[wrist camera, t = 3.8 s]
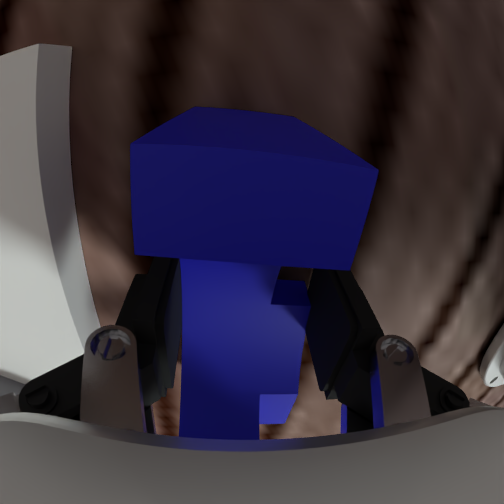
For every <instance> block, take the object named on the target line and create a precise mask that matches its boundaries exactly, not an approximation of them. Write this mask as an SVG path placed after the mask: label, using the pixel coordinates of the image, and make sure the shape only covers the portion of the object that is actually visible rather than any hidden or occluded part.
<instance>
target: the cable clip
mask: <svg viewBox="0 0 504 504" xmlns="http://www.w3.org/2000/svg"><path fill="white" fill-rule="evenodd" d="M378 172H379V170H378V169H376V168H375V167H373V166H372V165H371V164H369V163H368V162H366V161H365V160H363V159H362V158H360V157H359V156H357V155H356V154H354V153H353V152H351V151H350V150H348V149H347V148H345V147H344V146H342V145H340V144H339V143H337V142H336V141H334V140H332V139H331V138H329V137H328V136H326V135H324V134H323V133H321V132H319V131H318V130H316V129H314V128H313V127H311V126H309V125H307V124H306V123H304V122H302V121H301V120H299V119H297V118H295V117H292V116H286V115H279V114H271V113H263V112H255V111H246V110H236V109H224V108H210V107H193V108H191V109H189V110H188V111H186V112H184V113H182V114H180V115H178V116H176V117H175V118H173V119H171V120H169V121H167V122H166V123H164V124H162V125H160V126H159V127H157V128H155V129H154V130H152V131H150V132H149V133H147V134H145V135H144V136H142V137H140V138H139V139H137V140H135V141H134V142H132V143H131V144H130V179H131V208H132V226H133V240H134V252H135V255H145V256H157V257H169V258H180V268H181V283H182V373H181V402H180V426H179V437H187V438H200V439H221V440H259V424H282V423H285V421H286V419H287V417H288V415H289V413H290V410H291V408H292V406H293V404H294V402H295V399H296V397H297V395H298V385H299V373H300V364H301V356H302V350H303V344H304V338H305V333H306V332H305V329H306V324H307V320H308V316H309V312H310V308H311V304H310V301H309V298H308V295H307V287H306V284H305V281H295V280H279V279H277V277H278V274H279V271H280V268H281V266H288V267H303V268H317V269H332V270H348V271H350V268H351V265H352V262H353V259H354V256H355V253H356V250H357V246H358V243H359V240H360V237H361V233H362V230H363V227H364V223H365V220H366V217H367V213H368V210H369V206H370V202H371V199H372V195H373V191H374V188H375V184H376V180H377V176H378Z"/></svg>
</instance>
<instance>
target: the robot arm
mask: <svg viewBox="0 0 504 504" xmlns="http://www.w3.org/2000/svg"><path fill="white" fill-rule="evenodd" d="M307 295H308V298H309V301H310V304H311V308H310V312H309V316H308V320H307V324H306V329H305V332H306V336H307V340H308V344H309V348H310V352H311V356H312V361H313V365H314V369H315V373H316V377H317V381H318V386H319V389H320V391H324V392H325V396H326V400H327V399H338V401H339V402H341V403H342V405H341V434H336V435H328V436H318V437H307V438H293V439H273V440H221V439H200V438H187V437H175V436H166V435H158V434H156V428H155V422H154V414H153V407H152V404H153V403H154V402H156V401H158V400H159V399H160V398H161V397H166V392H167V388H173V385H174V378H175V370H176V363H177V356H178V349H179V343H180V336H181V330H182V283H181V268H180V258H169V257H157V256H154V259H153V261H152V264H151V266H150V269H149V272H148V274H136V275H135V277H134V279H133V281H132V284H131V286H130V289H129V291H128V293H127V296H126V298H125V301H124V303H123V306H122V309H121V311H120V314H119V316H118V319H117V322H116V324H115V325H108V326H103V327H100V328H98V329H96V330H95V331H93V332H92V333H91V334H90V335H89V337H88V338H87V340H86V343H85V349H84V354H83V355H81V356H79V357H77V358H75V359H73V360H71V361H69V362H67V363H65V364H63V365H61V366H59V367H57V368H55V369H53V370H51V371H49V372H47V373H44V374H42V375H40V376H38V377H36V378H34V379H32V380H31V381H29V382H28V383H26V384H25V386H24V387H23V388H22V389H21V392H20V394H18V395H15V394H14V392H12V393H9V394H5V395H2V396H0V504H504V408H501V407H493V406H490V405H488V404H485V403H482V402H480V401H477V400H475V399H472V398H470V399H469V400H468V398H467V396H466V394H465V393H464V392H463V391H462V390H461V389H460V388H458V387H457V386H455V385H453V384H452V383H450V382H448V381H446V380H444V379H443V378H441V377H439V376H437V375H435V374H434V373H432V372H430V371H428V370H427V369H425V368H423V367H421V365H420V361H419V357H418V353H417V351H416V349H415V347H414V346H413V345H412V344H411V343H410V342H409V341H408V340H406V339H404V338H402V337H400V336H397V335H384V333H383V331H382V329H381V327H380V325H379V323H378V321H377V319H376V317H375V315H374V313H373V311H372V309H371V307H370V305H369V303H368V301H367V299H366V297H365V295H364V293H363V291H362V290H361V288H360V287H359V285H358V284H357V282H356V280H355V278H354V276H353V274H352V272H351V270H350V271H348V270H332V269H317V268H314V269H313V273H312V277H311V280H310V284H309V288H308V291H307ZM480 375H481V378H482V380H483V381H484V383H485V385H486V386H490V387H495V386H499V385H502V384H504V324H503V325H502V327H501V328H500V330H499V331H498V333H497V334H496V336H495V337H494V339H493V340H492V342H491V344H490V345H489V347H488V349H487V351H486V353H485V355H484V357H483V360H482V363H481V366H480Z"/></svg>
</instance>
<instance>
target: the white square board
mask: <svg viewBox="0 0 504 504" xmlns="http://www.w3.org/2000/svg"><path fill="white" fill-rule="evenodd" d="M71 55H72V46H63V45H52V44H40V43H39V44H35V45H32V46H29V47H25V48H22V49H19V50H16V51H13V52H10V53H7V54H4V55H1V56H0V396H2V395H5V394H9V393H12V392H14V394H15V395H18V394H20V392H21V389H22V388H23V387H24V386H25V384H26V383H28V382H29V381H31V380H32V379H34V378H36V377H38V376H40V375H42V374H44V373H47V372H49V371H51V370H53V369H55V368H57V367H59V366H61V365H63V364H65V363H67V362H69V361H71V360H73V359H75V358H77V357H79V356H81V355H83V354H84V349H85V343H86V340H87V338H88V337H89V335H90V334H91V333H92V332H93V331H95V330H96V329H98V328H100V323H99V320H98V316H97V313H96V309H95V305H94V301H93V297H92V293H91V289H90V285H89V280H88V276H87V271H86V267H85V262H84V257H83V251H82V246H81V240H80V235H79V228H78V222H77V215H76V208H75V200H74V191H73V181H72V170H71V156H70V134H69V89H70V69H71Z"/></svg>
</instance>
